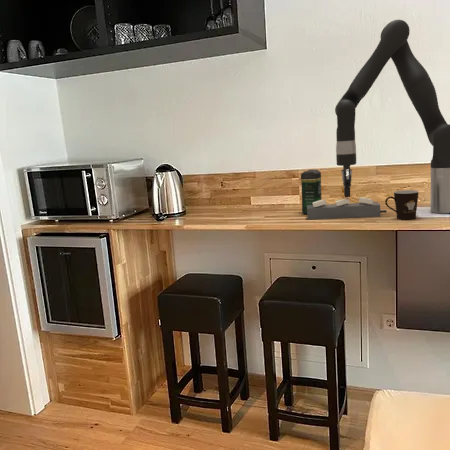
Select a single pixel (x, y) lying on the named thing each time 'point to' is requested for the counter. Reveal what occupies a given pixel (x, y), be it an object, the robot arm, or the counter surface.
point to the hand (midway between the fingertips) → (347, 196)
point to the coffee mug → (405, 204)
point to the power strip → (344, 211)
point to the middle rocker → (342, 201)
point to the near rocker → (366, 200)
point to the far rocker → (319, 203)
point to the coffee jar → (310, 188)
